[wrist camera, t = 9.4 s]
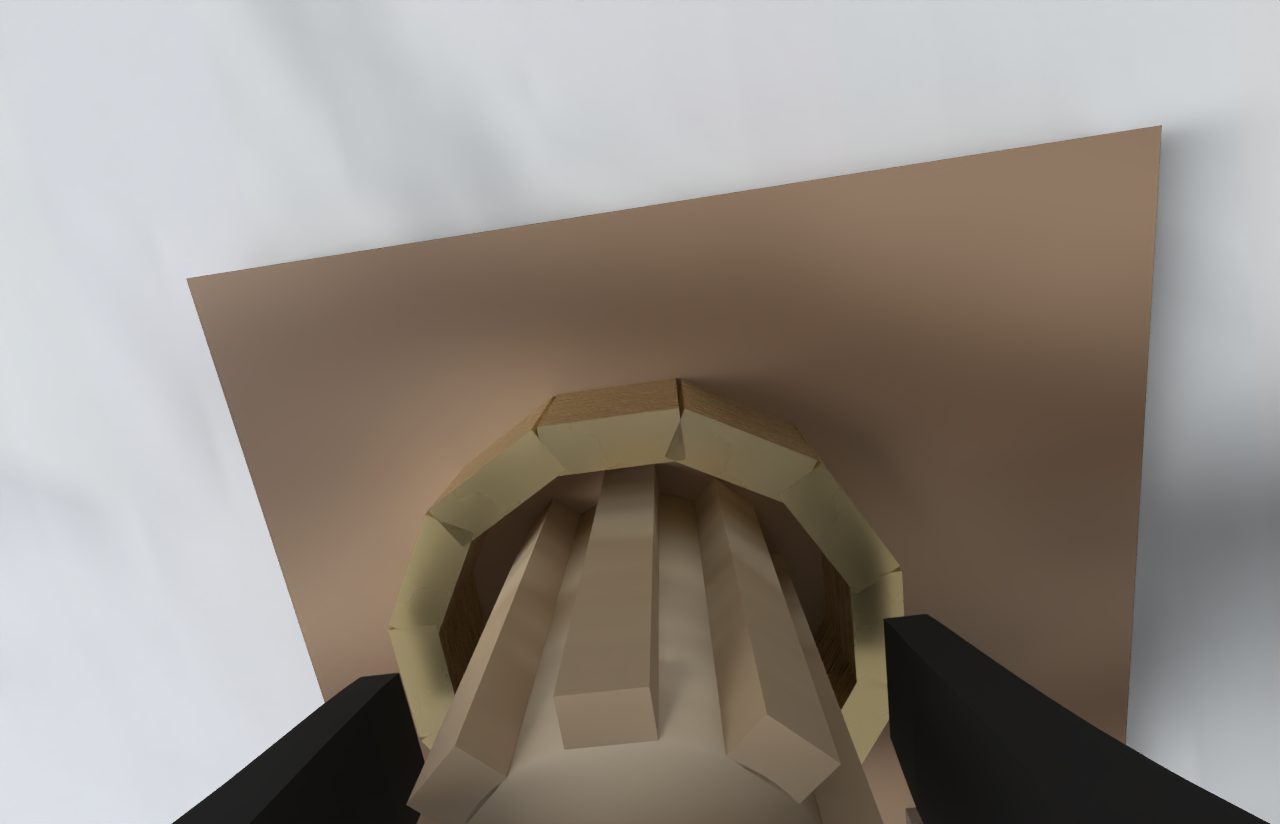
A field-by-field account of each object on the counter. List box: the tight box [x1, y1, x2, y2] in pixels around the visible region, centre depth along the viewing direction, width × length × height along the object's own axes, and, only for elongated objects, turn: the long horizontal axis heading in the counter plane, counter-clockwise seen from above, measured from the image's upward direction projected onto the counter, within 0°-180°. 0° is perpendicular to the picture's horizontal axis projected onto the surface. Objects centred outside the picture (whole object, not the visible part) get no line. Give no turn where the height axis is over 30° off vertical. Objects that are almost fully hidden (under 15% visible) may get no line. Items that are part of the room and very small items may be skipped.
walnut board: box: [187, 125, 1162, 824], centre depth 14 cm, size 20×16×2 cm
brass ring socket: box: [388, 378, 904, 765], centre depth 11 cm, size 8×8×2 cm
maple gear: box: [406, 464, 884, 824], centre depth 9 cm, size 5×5×6 cm
